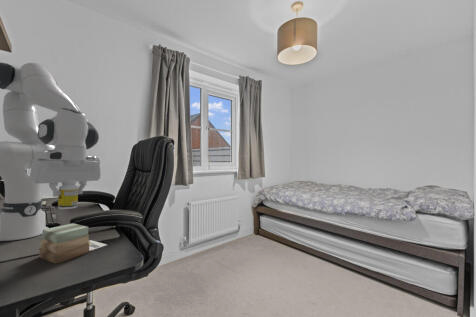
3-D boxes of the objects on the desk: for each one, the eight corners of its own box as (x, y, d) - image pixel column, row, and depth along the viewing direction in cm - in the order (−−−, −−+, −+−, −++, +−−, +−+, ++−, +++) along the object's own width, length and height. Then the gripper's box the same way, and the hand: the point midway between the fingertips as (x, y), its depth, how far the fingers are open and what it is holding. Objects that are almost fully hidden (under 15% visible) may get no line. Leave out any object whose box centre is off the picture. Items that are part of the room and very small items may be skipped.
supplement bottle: (57, 207, 76) (59, 179, 76) (76, 206, 79) (78, 178, 80) (57, 210, 72) (59, 180, 72) (77, 208, 75) (79, 179, 75)
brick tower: (38, 257, 73) (40, 229, 73) (72, 247, 82) (73, 222, 82) (56, 263, 68) (57, 234, 69) (88, 252, 78) (90, 226, 78)
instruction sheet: (73, 245, 83) (73, 244, 83) (90, 240, 89) (90, 239, 89) (90, 250, 79) (90, 250, 79) (107, 245, 85) (107, 244, 85)
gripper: (94, 156, 87) (92, 191, 86) (28, 153, 68) (25, 197, 68) (105, 156, 84) (103, 192, 84) (39, 153, 66) (36, 199, 65)
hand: (68, 195), depth 76 cm, fingers closed on supplement bottle, 5 cm apart
